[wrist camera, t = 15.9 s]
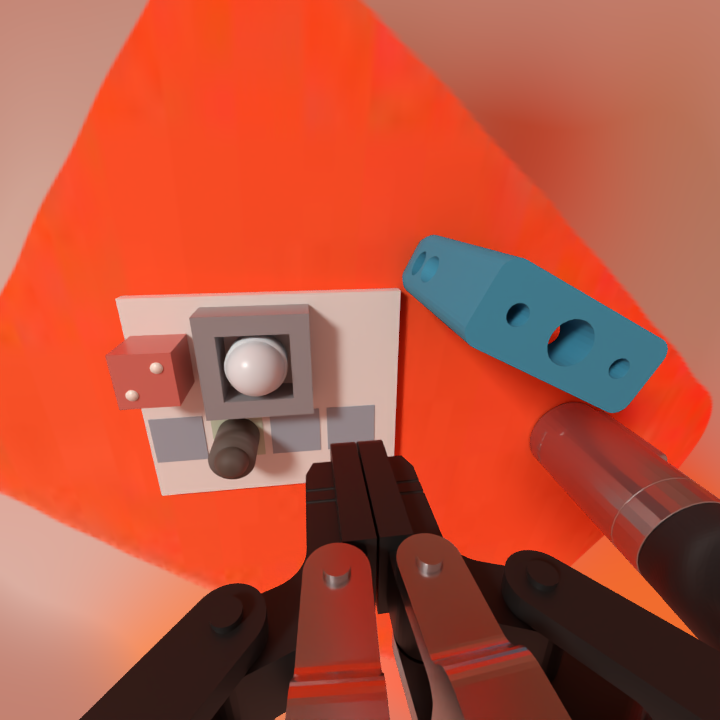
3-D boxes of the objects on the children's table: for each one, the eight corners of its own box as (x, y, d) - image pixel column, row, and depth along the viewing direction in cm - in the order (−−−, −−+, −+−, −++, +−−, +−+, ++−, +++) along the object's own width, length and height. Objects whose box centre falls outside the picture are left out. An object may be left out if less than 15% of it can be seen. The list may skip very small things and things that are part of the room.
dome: (286, 328, 38) (283, 347, 33) (290, 381, 40) (288, 406, 35) (225, 331, 37) (214, 350, 32) (232, 385, 39) (223, 410, 34)
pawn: (258, 416, 41) (251, 449, 36) (261, 451, 43) (255, 488, 37) (214, 418, 41) (201, 452, 35) (219, 454, 42) (207, 492, 37)
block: (506, 280, 41) (674, 346, 22) (480, 322, 42) (618, 417, 24) (408, 225, 37) (511, 250, 19) (383, 273, 39) (457, 339, 20)
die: (186, 333, 37) (169, 353, 32) (194, 381, 39) (180, 406, 34) (129, 336, 36) (104, 356, 32) (141, 384, 38) (119, 410, 34)
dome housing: (308, 303, 38) (308, 313, 34) (312, 397, 41) (313, 413, 38) (198, 307, 36) (189, 317, 33) (213, 403, 40) (206, 420, 37)
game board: (397, 288, 40) (400, 290, 38) (391, 468, 48) (393, 475, 47) (120, 295, 36) (114, 299, 35) (165, 488, 45) (161, 496, 43)
